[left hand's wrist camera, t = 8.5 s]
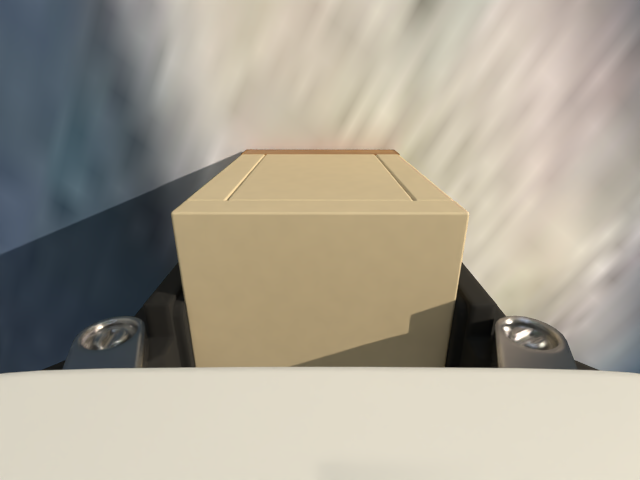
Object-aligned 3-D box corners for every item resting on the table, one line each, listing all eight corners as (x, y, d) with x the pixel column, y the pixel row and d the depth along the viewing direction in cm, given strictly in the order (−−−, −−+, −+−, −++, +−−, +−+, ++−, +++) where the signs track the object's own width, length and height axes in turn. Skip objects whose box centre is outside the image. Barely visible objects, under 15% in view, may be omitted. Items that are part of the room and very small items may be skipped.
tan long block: (367, 514, 23) (389, 719, 15) (272, 514, 23) (249, 718, 15) (394, 149, 14) (471, 212, 7) (246, 149, 14) (168, 211, 7)
